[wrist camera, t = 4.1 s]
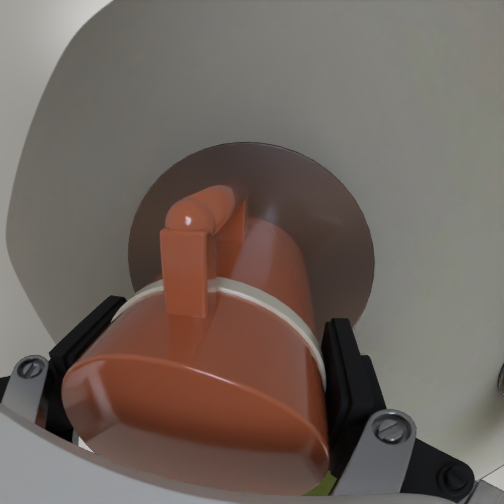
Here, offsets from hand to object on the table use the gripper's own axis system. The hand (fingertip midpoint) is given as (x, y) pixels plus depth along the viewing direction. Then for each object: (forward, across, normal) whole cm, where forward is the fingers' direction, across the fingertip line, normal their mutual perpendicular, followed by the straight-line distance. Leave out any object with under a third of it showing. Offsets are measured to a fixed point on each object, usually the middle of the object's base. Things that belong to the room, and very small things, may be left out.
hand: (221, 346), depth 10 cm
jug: (+6, 0, 0) cm, 6 cm away
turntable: (+8, 0, 0) cm, 8 cm away
